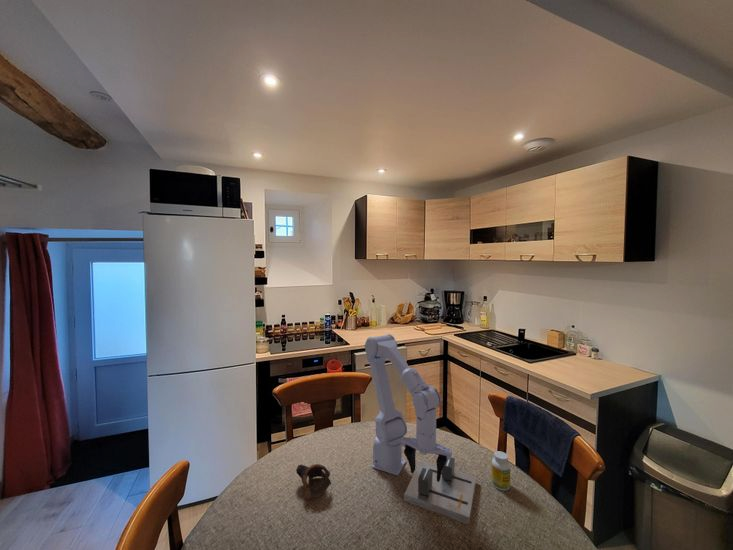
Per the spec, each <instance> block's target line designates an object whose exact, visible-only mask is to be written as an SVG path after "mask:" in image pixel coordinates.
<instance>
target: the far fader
mask: <svg viewBox="0 0 733 550" xmlns="http://www.w3.org/2000/svg"><path fill="white" fill-rule="evenodd" d="M455 461H456V460H455V457H452V456H451V460H449V459H447V461H446V463H445V465H444V467H443V469H442V478H443V479H446V480H449V481H452V478H453V475H454V470H455V468H456V467H455V465H456V463H455Z"/></svg>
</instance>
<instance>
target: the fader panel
mask: <svg viewBox="0 0 733 550" xmlns="http://www.w3.org/2000/svg"><path fill="white" fill-rule="evenodd" d="M423 468H425V469H428V470H431V471H433V476H432V487H431V490H430V492H429V495H428V496H427V495H424V494H421V493H418V478H419V475H420V473H421V471H422V469H423ZM476 485H477V476H476V475H472V474H469V473H465V472H462V471H459V470H455V469H454V475H453V478H452V481H449V480H446V479H443V478H442V472H441V478H440V481H439V482H438V481H437V463H432V462H429V461H426V460H423V459H420V460H419V462H418V463H417V466H416V467H415V471H414V473H413V475H412V477H411V479H410V481H409V483H408V486H407V487H406V490H405V492H404V495H403V496H404V501H405V502H407V503H410V504H412V505H414V506H418V507H421V508H423V509H426V510H429V511H431V512H434V513H436V514H439V515H442V516H444V517H448V518H450V519H453V520H456V521H458V522H461V523H463V524H466V525H470V523H471V518H472V510H473V505H474V497H475V491H476ZM472 504H473V505H472Z"/></svg>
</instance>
